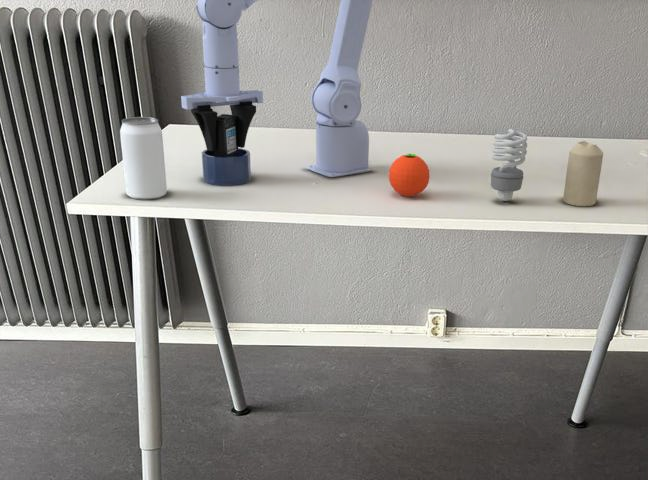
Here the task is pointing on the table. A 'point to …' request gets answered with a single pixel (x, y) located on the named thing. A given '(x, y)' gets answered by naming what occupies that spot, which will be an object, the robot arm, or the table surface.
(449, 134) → the table surface
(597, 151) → the candle
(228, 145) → the ink cartridge
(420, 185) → the clementine
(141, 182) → the can
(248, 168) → the cup
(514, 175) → the light bulb
